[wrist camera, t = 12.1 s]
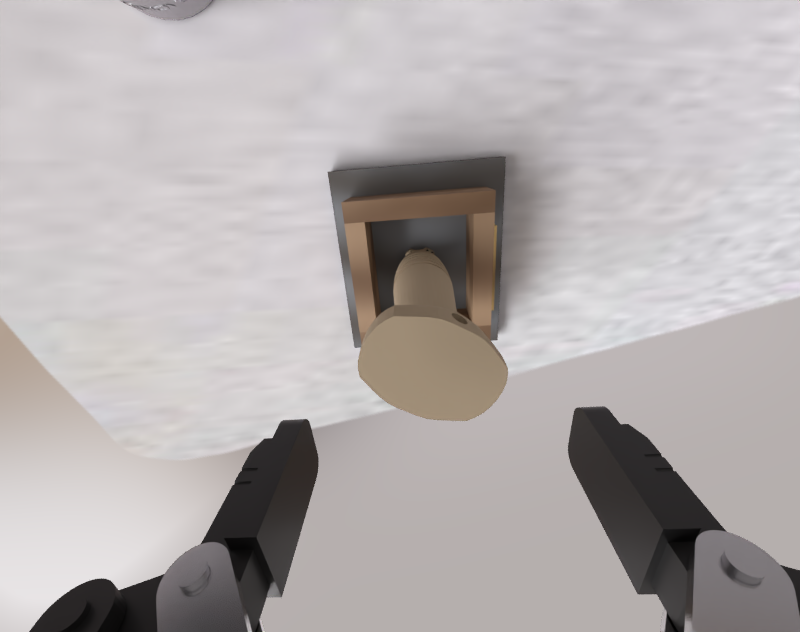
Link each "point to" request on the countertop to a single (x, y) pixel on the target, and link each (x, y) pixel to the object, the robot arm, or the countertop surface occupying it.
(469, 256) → the socket
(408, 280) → the handle
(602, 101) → the countertop surface
